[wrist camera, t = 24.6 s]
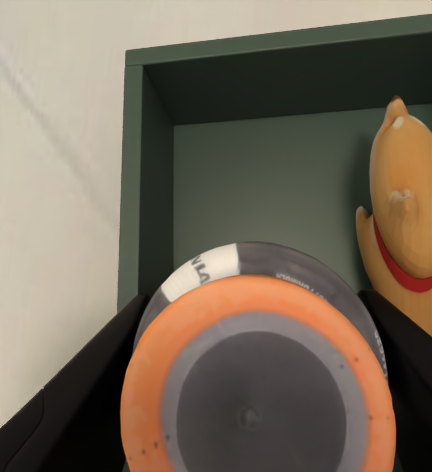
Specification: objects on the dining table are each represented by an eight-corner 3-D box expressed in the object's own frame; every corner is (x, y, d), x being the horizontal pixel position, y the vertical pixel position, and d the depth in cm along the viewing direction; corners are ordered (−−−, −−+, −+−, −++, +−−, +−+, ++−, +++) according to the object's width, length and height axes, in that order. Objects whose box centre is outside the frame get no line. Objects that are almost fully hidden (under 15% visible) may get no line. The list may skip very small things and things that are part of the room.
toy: (403, 130, 16) (464, 61, 11) (458, 509, 13) (575, 642, 8) (335, 137, 16) (366, 73, 12) (374, 503, 13) (437, 626, 9)
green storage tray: (518, 558, 13) (711, 756, 8) (160, 532, 15) (105, 676, 9) (443, 94, 17) (536, 0, 11) (163, 120, 18) (124, 49, 13)
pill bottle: (186, 277, 16) (35, 249, 5) (299, 254, 16) (404, 166, 5) (207, 398, 15) (71, 707, 4) (330, 377, 14) (575, 665, 3)
